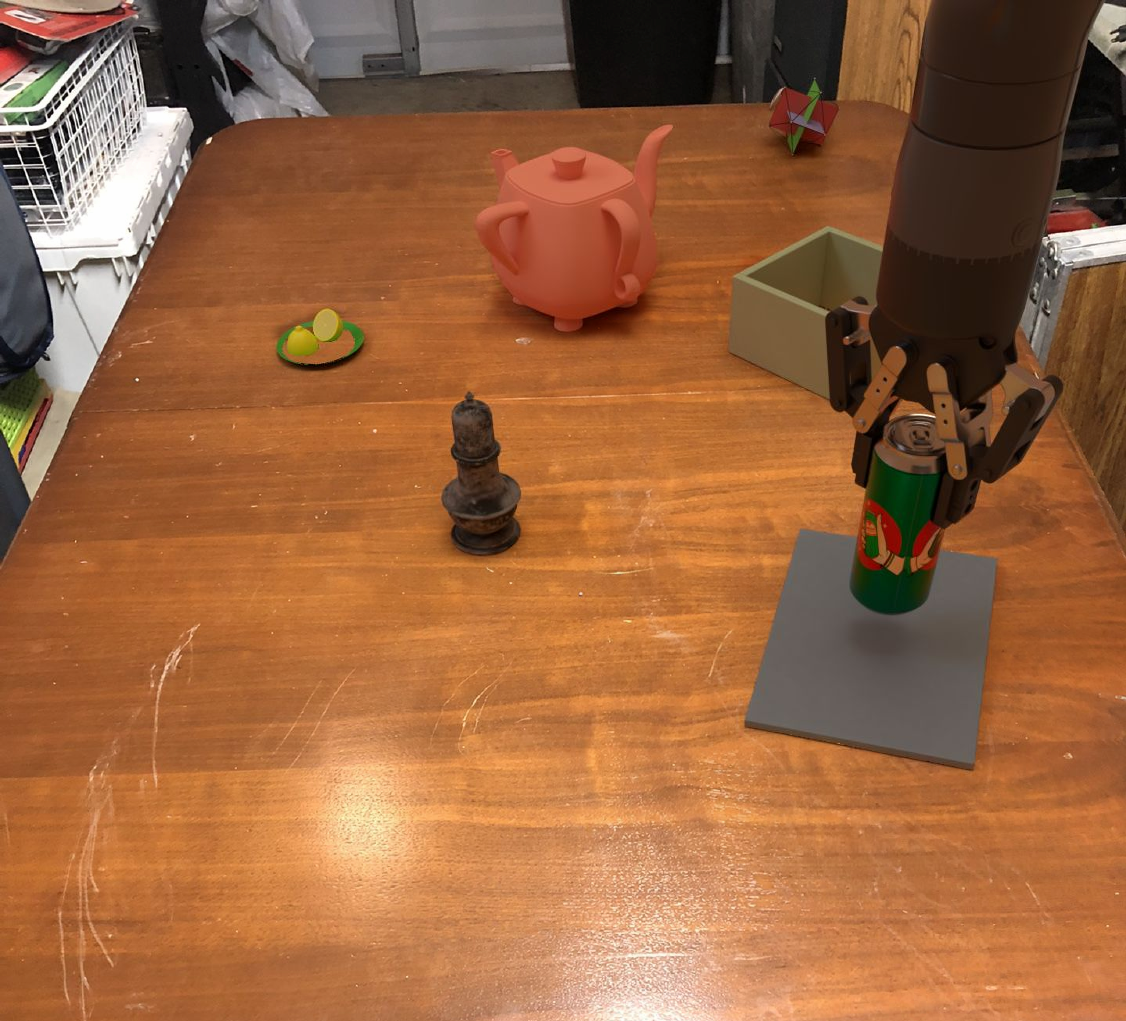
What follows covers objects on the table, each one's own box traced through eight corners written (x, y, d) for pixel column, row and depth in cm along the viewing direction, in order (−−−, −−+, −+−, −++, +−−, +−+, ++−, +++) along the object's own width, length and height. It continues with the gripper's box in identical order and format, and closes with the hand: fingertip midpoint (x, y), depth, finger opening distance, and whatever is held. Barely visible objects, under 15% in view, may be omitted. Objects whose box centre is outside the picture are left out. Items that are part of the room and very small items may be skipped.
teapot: (500, 258, 118) (488, 115, 108) (669, 257, 116) (673, 112, 106) (482, 342, 107) (466, 192, 97) (667, 342, 106) (671, 189, 96)
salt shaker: (482, 500, 91) (466, 359, 82) (540, 527, 89) (529, 385, 80) (430, 538, 88) (407, 397, 79) (488, 568, 86) (471, 425, 77)
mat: (799, 534, 87) (800, 528, 86) (995, 564, 83) (997, 558, 83) (743, 726, 74) (744, 720, 74) (972, 770, 71) (974, 764, 70)
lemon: (318, 317, 112) (312, 289, 110) (382, 339, 108) (377, 310, 106) (259, 356, 107) (252, 327, 105) (324, 379, 104) (318, 350, 102)
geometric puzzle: (844, 112, 133) (808, 52, 128) (855, 136, 128) (818, 74, 124) (790, 155, 136) (752, 98, 132) (799, 179, 132) (760, 121, 127)
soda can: (923, 569, 77) (961, 409, 68) (932, 621, 74) (972, 461, 65) (845, 567, 78) (872, 408, 69) (850, 619, 74) (879, 459, 65)
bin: (818, 299, 109) (827, 225, 104) (931, 347, 103) (947, 270, 98) (727, 351, 104) (732, 275, 99) (840, 405, 98) (851, 327, 92)
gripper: (1142, 235, 55) (1048, 524, 68) (894, 153, 63) (851, 428, 76) (1053, 293, 52) (972, 585, 65) (803, 200, 60) (774, 478, 72)
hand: (907, 499), depth 70 cm, fingers closed on soda can, 5 cm apart
